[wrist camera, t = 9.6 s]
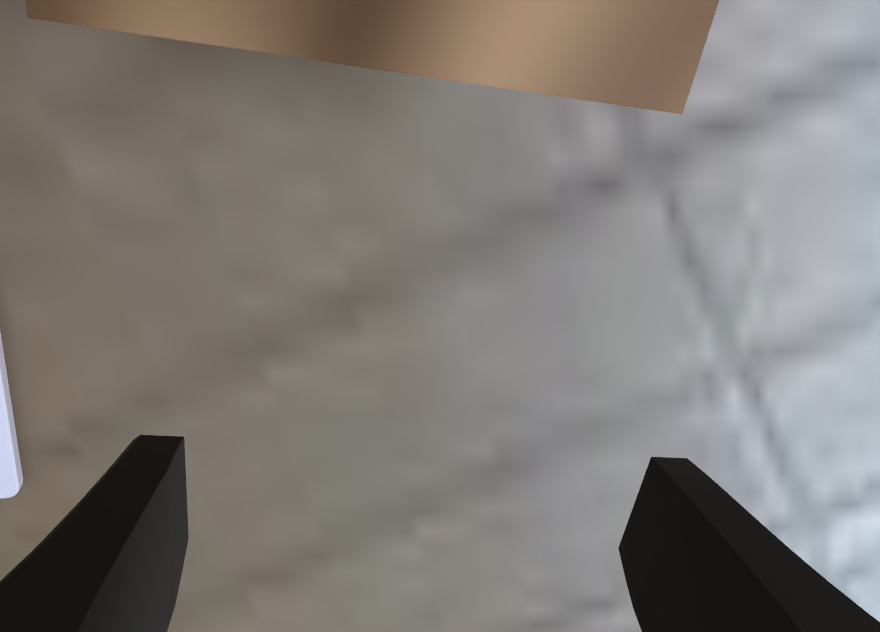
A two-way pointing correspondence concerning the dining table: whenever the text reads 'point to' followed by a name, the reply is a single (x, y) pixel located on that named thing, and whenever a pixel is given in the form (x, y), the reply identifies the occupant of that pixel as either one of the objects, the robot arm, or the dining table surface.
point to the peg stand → (446, 38)
